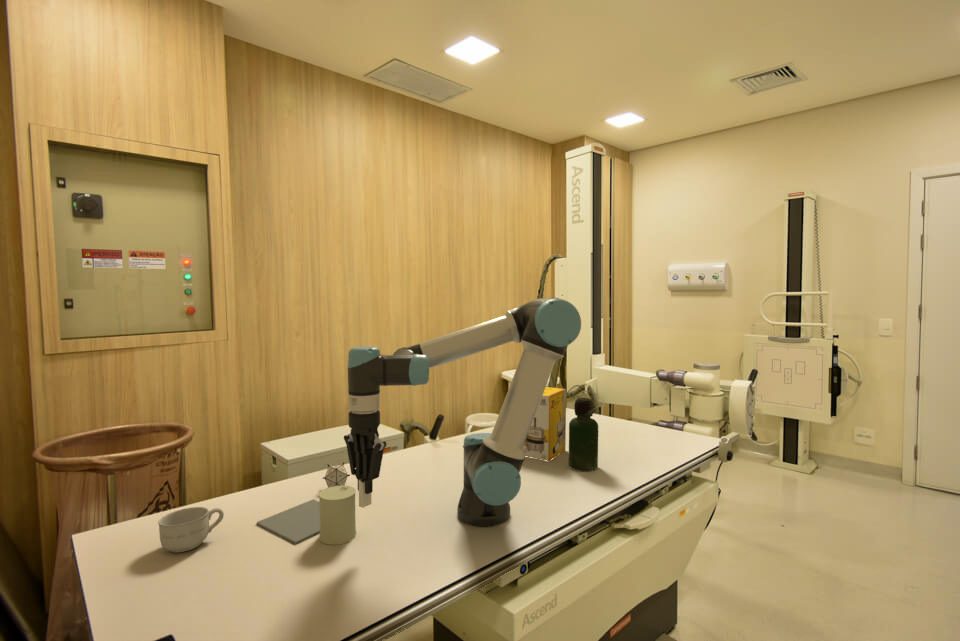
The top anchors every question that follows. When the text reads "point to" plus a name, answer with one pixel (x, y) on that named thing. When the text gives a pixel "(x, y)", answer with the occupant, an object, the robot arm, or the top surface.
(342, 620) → the top surface
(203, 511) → the teacup
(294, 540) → the mat
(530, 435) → the packaging box
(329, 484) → the game die
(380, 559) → the top surface
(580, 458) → the green bottle
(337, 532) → the can
